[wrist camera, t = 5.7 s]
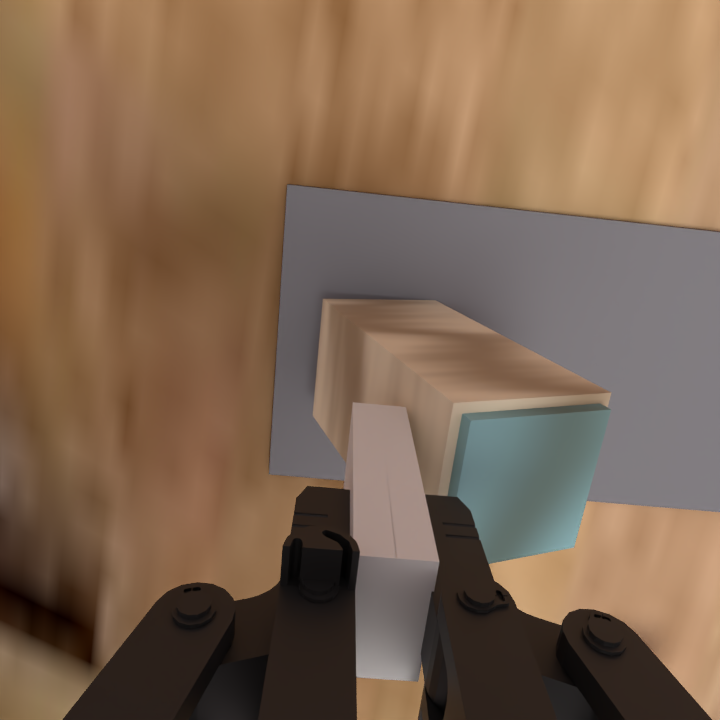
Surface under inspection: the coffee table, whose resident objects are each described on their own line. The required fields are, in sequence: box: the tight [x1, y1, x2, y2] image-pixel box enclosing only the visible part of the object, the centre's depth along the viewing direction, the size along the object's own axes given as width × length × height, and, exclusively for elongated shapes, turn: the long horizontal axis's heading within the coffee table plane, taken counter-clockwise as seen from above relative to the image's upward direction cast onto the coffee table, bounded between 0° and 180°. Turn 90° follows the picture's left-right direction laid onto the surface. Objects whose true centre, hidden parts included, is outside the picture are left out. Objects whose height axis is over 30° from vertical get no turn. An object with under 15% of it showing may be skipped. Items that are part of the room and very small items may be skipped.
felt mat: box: [269, 184, 720, 512], centre depth 26 cm, size 22×13×1 cm, turn 84°
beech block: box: [313, 299, 611, 564], centre depth 20 cm, size 5×5×10 cm
